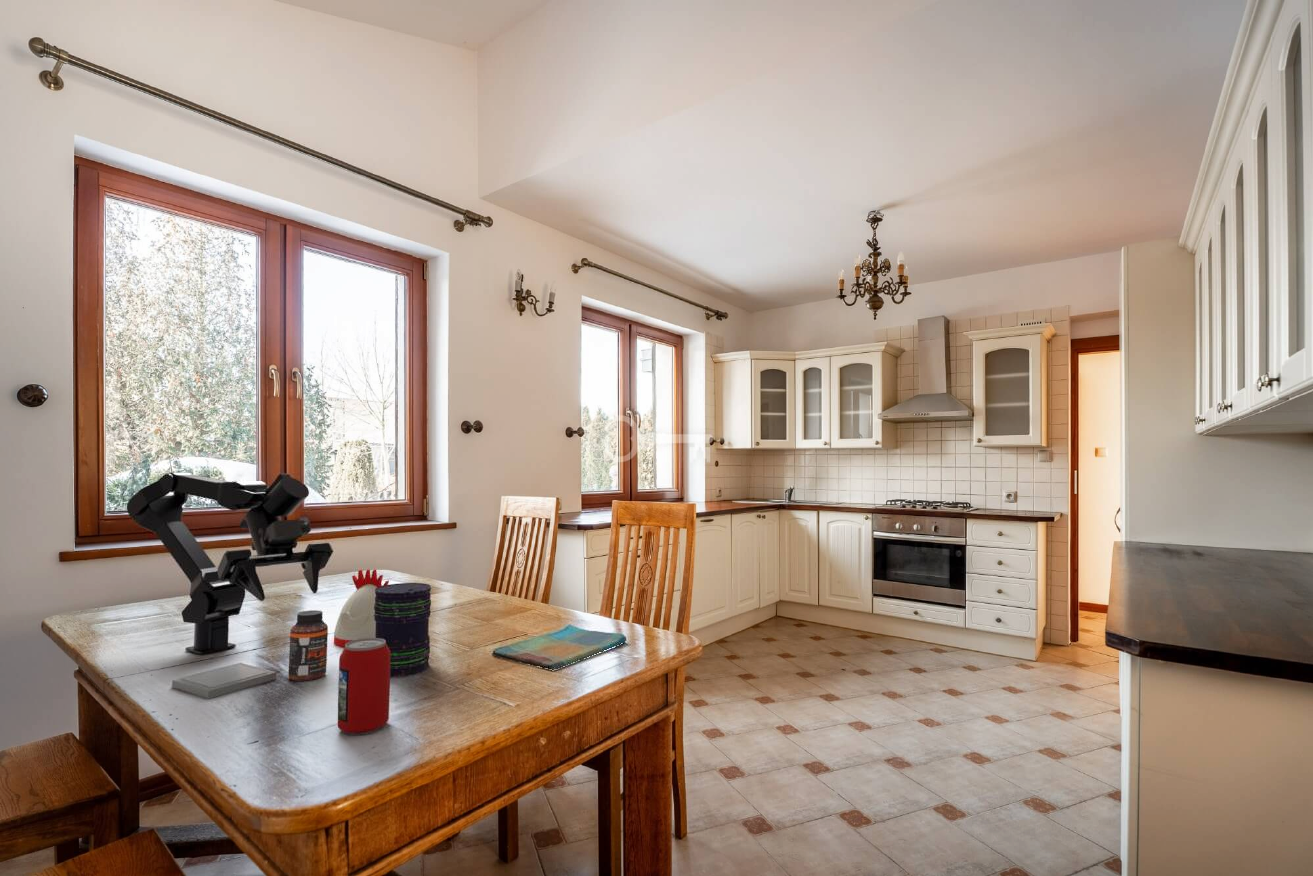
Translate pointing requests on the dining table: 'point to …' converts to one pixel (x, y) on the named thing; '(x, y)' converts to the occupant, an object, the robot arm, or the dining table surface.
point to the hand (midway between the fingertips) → (290, 595)
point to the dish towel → (559, 647)
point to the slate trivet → (223, 680)
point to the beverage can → (364, 686)
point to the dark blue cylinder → (404, 626)
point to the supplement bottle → (308, 646)
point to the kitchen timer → (358, 610)
